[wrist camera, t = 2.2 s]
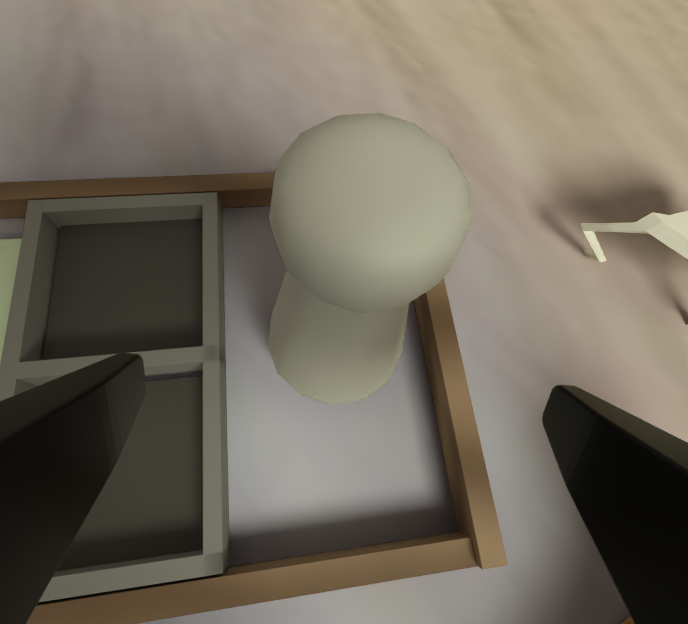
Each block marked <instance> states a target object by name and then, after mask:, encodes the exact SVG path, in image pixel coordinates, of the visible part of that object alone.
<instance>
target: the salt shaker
mask: <svg viewBox="0 0 688 624" xmlns="http://www.w3.org/2000/svg"><path fill="white" fill-rule="evenodd" d="M269 221H270V225H271V229H272V233H273V236H274V239H275V241H276V244H277V246H278V249H279V252H280V254H281V257H282V260H283V262H284V265H285V267H286V273H285V276H284V279H283V282H282V285H281V288H280V291H279V294H278V297H277V300H276V303H275V306H274V309H273V312H272V315H271V323H270V332H269V342H268V346H269V349H270V352H271V355H272V358H273V361H274V363H275V366H276V369H277V372H278V374H279V375H280V376H281V377H282V378H284V379H285V380H286V381H287V382H288V383H289V384H290V385H291V386H292V387H293V388H294V389H295V390H297V391H298V392H299V393H300V394H301V395H303V396H306V397H309V398H312V399H315V400H318V401H322V402H325V403H328V404H338V403H344V402H350V401H356V400H363V399H364V398H366V397H367V396H369V395H370V394H371V393H373V392H374V391H376V390H377V389H378V388H380V387H381V386H383V385H384V384H386V383H387V382H388V381H389V379H390V377H391V375H392V373H393V371H394V369H395V367H396V365H397V363H398V361H399V359H400V358H401V355H402V349H403V342H404V335H405V329H406V322H407V315H408V309H409V303H410V302H411V301H413V300H415V299H416V298H418V297H419V296H421V295H422V294H424V293H426V292H427V291H429V290H430V289H432V288H433V287H435V286H437V285H438V284H439V282H440V281H441V280H442V279H443V278H444V277H445V276H446V274H447V273H448V271H449V269H450V267H451V265H452V263H453V261H454V259H455V257H456V255H457V253H458V251H459V249H460V247H461V245H462V243H463V241H464V239H465V237H466V234H467V231H468V228H469V225H470V223H471V204H470V183H469V182H468V180H467V178H466V177H465V175H464V173H463V172H462V170H461V169H460V167H459V165H458V164H457V162H456V160H455V159H454V157H453V155H452V154H451V152H450V151H449V149H447V148H446V147H445V146H444V145H443V144H442V143H440V142H439V141H438V140H436V139H435V138H434V137H432V136H431V135H430V134H428V133H427V132H426V131H424V130H423V129H422V128H420V127H419V126H418V125H416V124H415V123H412V122H408V121H405V120H401V119H398V118H394V117H391V116H387V115H384V114H380V113H377V114H355V115H341V116H335V117H333V118H331V119H329V120H327V121H325V122H323V123H321V124H319V125H317V126H315V127H312V128H310V129H308V130H306V131H304V132H302V133H301V134H300V135H299V136H298V137H297V138H296V140H295V141H294V142H293V143H292V144H291V146H290V147H289V148H288V149H287V150H286V152H285V153H284V154H283V155H282V156H281V158H280V159H279V160H278V161H277V165H276V171H275V178H274V184H273V192H272V199H271V207H270V214H269Z"/></svg>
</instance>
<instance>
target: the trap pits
mask: <svg viewBox="0 0 688 624" xmlns="http://www.w3.org/2000/svg"><path fill="white" fill-rule="evenodd" d="M59 231H60V235H59ZM58 239H59V242H58ZM57 246H58V250H57ZM56 253H57V257H56ZM55 261H56V264H55ZM54 268H55V272H54ZM53 275H54V279H53ZM52 283H53V286H52ZM51 290H52V294H51ZM50 297H51V301H50ZM49 305H50V309H49ZM48 312H49V316H48ZM47 319H48V323H47ZM46 327H47V331H46ZM45 334H46V338H45ZM44 342H45V345H44ZM43 349H44V353H43ZM118 353H132V354H139V355H140V356H141V357H142V359H143V362H144V371H145V376H146V375H156V374H167V373H177V372H188V371H198V370H203V376H198V377H187V378H177V379H167V380H156V381H146V395H145V399H144V401H143V404H142V406H141V408H140V411H139V413H138V415H137V418H136V420H135V422H134V425H133V427H132V430H131V432H130V434H129V437H128V439H127V441H126V444H125V446H124V448H123V451H122V453H121V455H120V457H119V460H118V462H117V464H116V465H115V467H114V469H113V471H112V473H111V475H110V476H109V478H108V480H107V482H106V483H105V485H104V487H103V489H102V491H101V492H100V494H99V496H98V498H97V499H96V501H95V503H94V505H93V506H92V508H91V510H90V512H89V514H88V515H87V517H86V519H85V521H84V522H83V524H82V526H81V528H80V529H79V531H78V533H77V535H76V537H75V538H74V540H73V542H72V544H71V545H70V547H69V549H68V551H67V552H66V554H65V556H64V558H63V560H62V561H61V563H60V565H59V567H58V568H57V570H56V572H55V574H54V575H53V577H52V579H51V581H50V583H49V584H48V586H47V588H46V590H45V591H44V593H43V595H42V597H41V599H40V600H39V602H44V601H50V600H57V599H63V598H69V597H76V596H82V595H89V594H95V593H101V592H108V591H114V590H120V589H127V588H133V587H140V586H146V585H152V584H159V583H165V582H171V581H178V580H184V579H191V578H197V577H203V576H210V575H216V574H222V573H224V571H225V570H226V569H227V567H228V566H229V565H230V549H229V502H228V454H227V407H226V359H225V311H224V264H223V216H222V207H221V204H220V201H219V198H218V194H217V192H212V193H188V194H165V195H141V196H118V197H94V198H71V199H47V200H28V205H27V211H26V217H25V223H24V229H23V235H22V240H21V246H20V252H19V258H18V264H17V270H16V275H15V281H14V287H13V293H12V299H11V305H10V311H9V316H8V322H7V328H6V334H5V340H4V346H3V351H2V357H1V363H0V401H2V400H4V399H7V398H9V397H12V396H14V395H16V394H19V393H21V392H24V391H26V390H29V389H31V388H34V387H36V386H39V385H41V384H44V383H46V382H49V381H51V380H54V379H56V378H59V377H61V376H64V375H66V374H68V373H71V372H73V371H76V370H78V369H81V368H83V367H86V366H88V365H91V364H93V363H96V362H98V361H101V360H103V359H106V358H108V357H111V356H113V355H116V354H118ZM42 356H43V360H42Z"/></svg>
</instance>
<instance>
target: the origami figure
mask: <svg viewBox="0 0 688 624" xmlns="http://www.w3.org/2000/svg"><path fill="white" fill-rule="evenodd" d="M581 226H582V229H583V232H584V234H585V236H586V238H587V240H588V242H589V244H590V246H591V248H592V250H593V251H592V250H583V251H584V253H585V255H586V256H588V257H590V258H593V259H595V260H597V261H599V262H604V261H606V258H605V256H604V254H603V251H602V249H601V247H600V244H599V242H598V240H597V237H596V235H595V233H594V231H599V232H626V233H643V234H650V235H652V236H653V237H655V238H656V239H658V240H659V241H661V242H662V243H664V244H665V245H667V246H668V247H670V248H671V249H673V250H674V251H676V252H677V253H679V254H680V255H682V256H683V257H685V258H686V259H688V211H684V212H680V213H676V214H672V215H666V214H660V213H654V212H652V213H651V214H649V215H647V216H645V217H644V218H642V219H640V220H638V221H637V222H632V223H581ZM686 326H687V327H688V324H687V325H686Z"/></svg>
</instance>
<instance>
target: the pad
mask: <svg viewBox="0 0 688 624" xmlns="http://www.w3.org/2000/svg"><path fill="white" fill-rule="evenodd" d="M21 240H22V239H3V240H0V363H1V357H2V351H3V346H4V340H5V334H6V328H7V322H8V316H9V311H10V305H11V299H12V293H13V287H14V281H15V275H16V270H17V264H18V258H19V252H20V246H21Z"/></svg>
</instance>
